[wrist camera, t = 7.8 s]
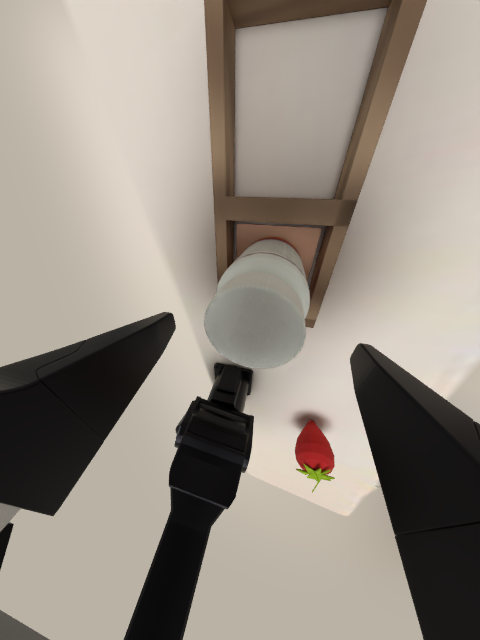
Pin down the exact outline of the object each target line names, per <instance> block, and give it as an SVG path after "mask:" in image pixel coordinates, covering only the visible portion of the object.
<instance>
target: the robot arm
mask: <svg viewBox="0 0 480 640" xmlns="http://www.w3.org/2000/svg"><path fill="white" fill-rule="evenodd" d="M175 328H176V325H175V320H174V317H173V314H172V313H169V312H163V313H160V314H157V315H155V316H151V317H149V318H146V319H143V320H140V321H137V322H134V323H132V324H129V325H126V326H123V327H120V328H117V329H115V330H112V331H109V332H106V333H103V334H100V335H98V336H95V337H92V338H89V339H87V340H84V341H81V342H78V343H75V344H72V345H69V346H66V347H63V348H60V349H57V350H54V351H51V352H48V353H45V354H42V355H38V356H35V357H32V358H29V359H25V360H22V361H19V362H15V363H12V364H9V365H6V366H3V367H0V569H1V566H2V562H3V559H4V556H5V552H6V549H7V545H8V542H9V538H10V535H11V532H12V528H13V524H12V523H10V522H9V521H10V520H11V519H12V518H13V517H14V516H15V515H16V513H17V512H18V511H19V510H20V509H21V508H22V509H26V510H30V511H34V512H38V513H42V514H46V515H50V516H54V515H55V513H56V512H57V511H58V509H59V508H60V507H61V505H62V504H63V502H64V501H65V499H66V498H67V496H68V495H69V493H70V491H71V490H72V489H73V487H74V486H75V484H76V483H77V481H78V480H79V478H80V477H81V475H82V474H83V472H84V471H85V469H86V468H87V466H88V465H89V463H90V462H91V460H92V459H93V457H94V456H95V454H96V453H97V451H98V450H99V448H100V447H101V445H102V444H103V442H104V440H105V439H106V437H107V436H108V434H109V433H110V431H111V430H112V429H113V427H114V426H115V424H116V423H117V421H118V420H119V418H120V417H121V415H122V413H123V412H124V411H125V409H126V408H127V406H128V405H129V403H130V401H131V400H132V399H133V397H134V396H135V394H136V393H137V391H138V390H139V388H140V387H141V385H142V383H143V382H144V381H145V379H146V378H147V376H148V375H149V373H150V372H151V370H152V368H153V367H154V366H155V364H156V363H157V361H158V360H159V358H160V357H161V355H162V354H163V352H164V350H165V348H166V346H167V344H168V342H169V341H170V339H171V337H172V335H173V333H174V331H175ZM350 364H351V370H352V377H353V384H354V390H355V394H356V398H357V402H358V405H359V409H360V413H361V416H362V420H363V423H364V427H365V430H366V434H367V438H368V441H369V445H370V448H371V452H372V456H373V459H374V463H375V466H376V470H377V473H378V477H379V481H380V484H381V488H382V491H383V495H384V498H385V502H386V506H387V509H388V513H389V516H390V520H391V523H392V527H393V530H394V534H395V535H396V536H395V539H396V542H397V546H398V549H399V553H400V556H401V560H402V563H403V567H404V571H405V574H406V578H407V581H408V585H409V589H410V592H411V596H412V599H413V603H414V606H415V610H416V614H417V617H418V621H419V624H420V628H421V631H422V635H423V639H424V640H480V424H479V423H477V422H475V421H473V419H471V418H470V417H469V416H467V415H466V414H465V413H463V412H462V411H461V410H459V409H458V408H456V407H455V406H453V405H452V404H451V403H450V402H448V401H447V400H445V399H444V398H443V397H441V396H440V395H439V394H437V393H436V392H434V391H433V390H432V389H430V388H429V387H428V386H426V385H425V384H423V383H422V382H421V381H419V380H418V379H417V378H415V377H414V376H412V375H411V374H410V373H408V372H407V371H406V370H404V369H403V368H401V367H400V366H399V365H397V364H396V363H395V362H393V361H392V360H390V359H389V358H388V357H386V356H385V355H384V354H382V353H381V352H379V351H378V350H377V349H375V348H374V347H373V346H371V345H368V344H362V343H360V344H358V345H357V346H356V348H355V350H354V351H353V353H352V355H351V357H350ZM214 371H215V382H214V385H213V387H212V390H211V392H210V395H209V397H208V400H205V399H202V398H201V397H198V396H197V398H196V400H195V401H192V403H191V405H190V407H189V409H188V411H187V412H186V414H185V416H184V417H183V418H182V420H181V421H180V423H179V424H178V426H177V427H176V433H177V437H176V441H175V447H176V448H178V450H177V452H176V455H175V457H174V460H173V462H172V465H171V468H170V473H169V487H171V512H170V515H169V518H168V520H167V523H166V526H165V529H164V531H163V534H162V537H161V539H160V542H159V545H158V548H157V550H156V553H155V556H154V559H153V562H152V564H151V567H150V570H149V572H148V575H147V578H146V580H145V583H144V586H143V588H142V591H141V594H140V597H139V599H138V602H137V605H136V608H135V610H134V613H133V616H132V618H131V621H130V624H129V627H128V629H127V632H126V635H125V637H124V640H183V636H184V632H185V628H186V624H187V620H188V616H189V612H190V608H191V604H192V600H193V596H194V592H195V588H196V584H197V581H198V576H199V572H200V569H201V565H202V560H203V557H204V553H205V549H206V545H207V541H208V537H209V533H210V530H211V526H212V525H213V524H214V522H215V521H216V520H217V518H218V517H219V516H220V514H221V513H222V512H223V510H224V509H228V508H229V506H230V505H231V504H232V502H233V500H234V499H235V497H236V492H237V489H238V484H239V480H240V476H241V472H243V473H244V472H245V471H246V469H247V466H248V463H249V459H250V454H251V448H252V437H253V422H254V416H252V415H247V414H244V413H243V410H244V406H245V401H246V396H247V395H250V393H251V384H252V376H253V372H252V371H251V370H248V369H243V368H238V367H233V366H228V365H223V364H218V363H216V364H215V365H214ZM0 640H49V639H48V638H46V637H44V636H42V635H41V634H39V633H38V632H36V631H34V630H33V629H31V628H29V627H27V626H26V625H24V624H23V623H20V622H19V621H18V620H16V619H14V618H12V617H11V616H9V615H7V614H6V613H4V612H2V611H1V610H0Z"/></svg>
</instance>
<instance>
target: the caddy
mask: <svg viewBox="0 0 480 640" xmlns="http://www.w3.org/2000/svg"><path fill="white" fill-rule="evenodd" d="M426 2H427V0H204V7H205V28H206V49H207V70H208V90H209V111H210V132H211V153H212V173H213V194H214V215H215V236H216V257H217V277H218V283H219V281H220V279H221V277H222V275H223V274H224V272H225V271H226V270H227V269H228V268H229V267H230V265H231V264H233V253H234V221H251V222H270V223H288V224H307V225H325V226H326V230H325V234H324V237H323V241H322V244H321V248H320V251H319V255H318V258H317V262H316V265H315V269H314V273H313V276H312V280H311V283H310V287H309V292H310V305H309V310H308V314H307V316H306V318H305V326H306V327H310V328H313V327H314V324H315V321H316V318H317V316H318V313H319V310H320V307H321V304H322V301H323V298H324V295H325V293H326V290H327V287H328V284H329V281H330V278H331V275H332V272H333V270H334V267H335V264H336V261H337V258H338V255H339V252H340V249H341V247H342V244H343V241H344V238H345V235H346V232H347V229H348V226H349V224H350V221H351V218H352V215H353V212H354V209H355V206H356V203H357V200H358V198H359V195H360V192H361V189H362V186H363V183H364V180H365V177H366V175H367V172H368V169H369V166H370V163H371V160H372V157H373V154H374V152H375V149H376V146H377V143H378V140H379V137H380V134H381V131H382V129H383V126H384V123H385V120H386V117H387V114H388V111H389V108H390V106H391V103H392V100H393V97H394V94H395V91H396V88H397V85H398V82H399V80H400V77H401V74H402V71H403V68H404V65H405V62H406V59H407V57H408V54H409V51H410V48H411V45H412V42H413V39H414V36H415V34H416V31H417V28H418V25H419V22H420V19H421V16H422V13H423V11H424V8H425V5H426ZM382 7H388V10H387V14H386V17H385V21H384V25H383V28H382V32H381V35H380V39H379V42H378V46H377V49H376V53H375V56H374V60H373V64H372V67H371V71H370V74H369V78H368V81H367V85H366V88H365V92H364V95H363V99H362V102H361V106H360V110H359V113H358V117H357V120H356V124H355V127H354V131H353V134H352V138H351V141H350V145H349V149H348V152H347V156H346V159H345V163H344V166H343V170H342V173H341V177H340V180H339V184H338V187H337V191H336V195H335V198H334V199H300V198H266V197H234V113H235V28H242V27H249V26H256V25H263V24H270V23H277V22H284V21H291V20H298V19H305V18H312V17H319V16H326V15H333V14H340V13H347V12H354V11H361V10H368V9H375V8H382ZM321 229H322V228H313V227H295V226H277V225H259V224H242V223H237V253H236V259H237V258H238V257H239V256H240V255H241V254H242V253H243V252H244V251H245V250H246V249H247V248H248V247H249V246H250V245H251V244H252V243H254V242H255V241H257V240H259V239H262V238H265V237H279V238H282V239H285V240H287V241H288V242H290V243H291V244H292V245H293V246H294V247H295V248H296V249H297V251H298V253H299V255H300V258H301V260H302V264H303V268H304V271H305V275H306V280H307V281H308V278H309V274H310V270H311V266H312V263H313V259H314V255H315V252H316V248H317V244H318V240H319V237H320V233H321Z"/></svg>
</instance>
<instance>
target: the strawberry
mask: <svg viewBox="0 0 480 640" xmlns="http://www.w3.org/2000/svg"><path fill="white" fill-rule="evenodd" d="M295 454H296V460H297V462H298V464H299V465H300V467H301V468H302V469H303V470H301V469H296V470H298V471H299V472H301V473H303V474H305V475H307V474H309V475H308V477H307V478H311V479H315V480H316V481H318V483H319V482H320V480H321V479H324V480H328V481H331V480H330V479H335V478H334V477H331V476H328V475H326V474H329V473H331V471H332V470H333V468H334V454H333V452H332V449H331V447H330V444H329V442H328V440H327V439H326V437H325V436H324V434H323V433H322V431H321V430H320V429H319V428H318V426H317V425H316V424H315V422H314V421H312V420H310V421H308V423H307V424H306V426H305V427H304V428H303V430H302V431H301V433H300V435H299V436H298V438H297V442H296V447H295ZM318 483H317V485H318ZM317 485H316V486H317ZM316 486H315V488H316ZM315 488H314V489H315ZM314 489H313V491H314ZM313 491H312V492H313Z"/></svg>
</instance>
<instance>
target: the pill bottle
mask: <svg viewBox="0 0 480 640" xmlns="http://www.w3.org/2000/svg"><path fill="white" fill-rule="evenodd" d="M309 305H310V292H309V287H308V284H307V280H306V275H305V271H304V268H303V264H302V260H301V258H300V255H299V253H298V251H297V249H296V248H295V247H294V246H293V245H292V244H291V243H290V242H288V241H287V240H285V239H282V238H279V237H265V238H262V239H259V240H257V241H255V242H254V243H252V244H251V245H250V246H249V247H248V248H247V249H246V250H245V251H244V252H243V253H242V254H241V255H240V256H239V257H238V258H237V259H236V260H235V262H234V263H233V264H231V265H230V267H229V268H228V269H227V270H226V271H225V272H224V274H223V275H222V277H221V279H220V281H219V283H218V286H217V291H216V296H215V297H214V298H213V299H212V301H211V302H210V304H209V306H208V308H207V310H206V314H205V320H204V325H205V330H206V333H207V336H208V338H209V340H210V342H211V344H212V345H213V346H214V348H215V349H216V350H217V351H218V352H219V353H220V354H222V355H223V356H224V357H226V358H227V359H229V360H230V361H232V362H234V363H236V364H239V365H242V366H245V367H249V368H255V369H267V368H273V367H277V366H280V365H283V364H285V363H287V362H288V361H290V360H291V359H293V358H294V357H295V356H296V355H297V354H298V353H299V351H300V350H301V348H302V346H303V344H304V341H305V336H306V326H305V318H306V316H307V314H308V310H309Z"/></svg>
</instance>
